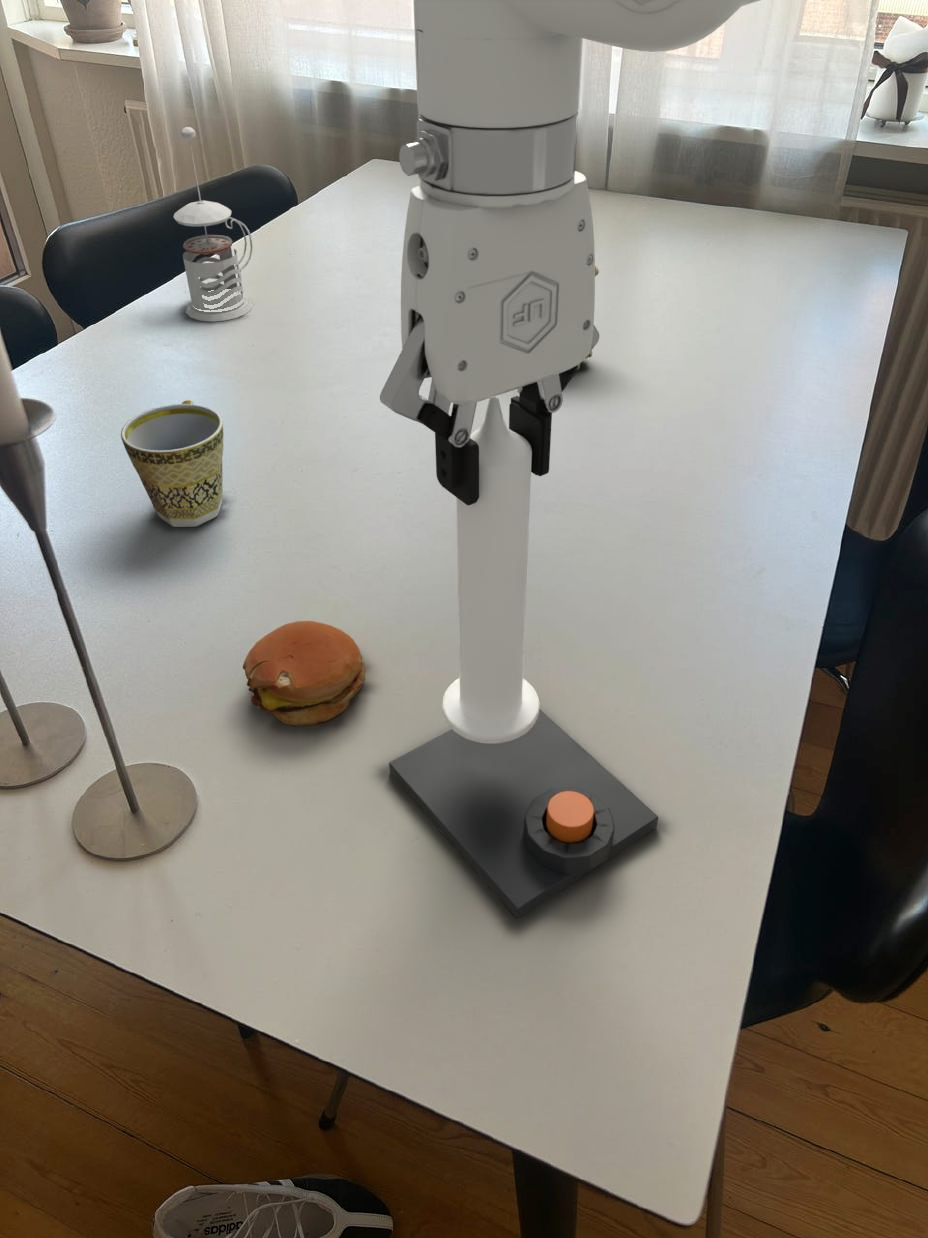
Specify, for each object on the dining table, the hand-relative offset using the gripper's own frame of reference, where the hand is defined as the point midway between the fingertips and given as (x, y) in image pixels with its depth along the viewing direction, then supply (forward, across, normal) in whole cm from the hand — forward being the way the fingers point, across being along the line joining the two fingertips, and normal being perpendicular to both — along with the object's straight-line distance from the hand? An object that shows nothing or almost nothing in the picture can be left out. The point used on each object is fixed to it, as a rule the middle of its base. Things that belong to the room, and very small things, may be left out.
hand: (494, 476), depth 58 cm
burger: (+27, -7, +16) cm, 32 cm away
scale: (+26, 0, -4) cm, 27 cm away
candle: (+20, 0, 0) cm, 20 cm away
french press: (+27, +23, +98) cm, 104 cm away
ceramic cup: (+27, -3, +50) cm, 56 cm away
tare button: (+24, 0, -9) cm, 25 cm away
